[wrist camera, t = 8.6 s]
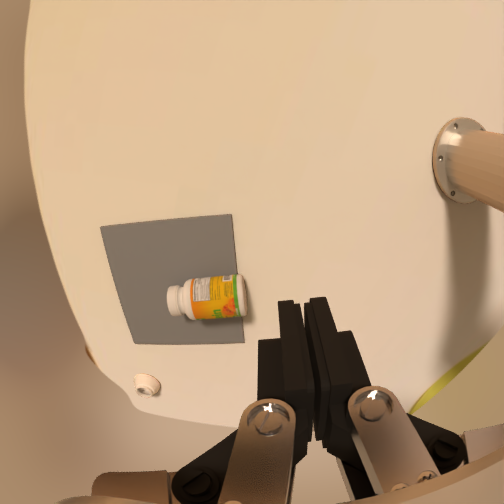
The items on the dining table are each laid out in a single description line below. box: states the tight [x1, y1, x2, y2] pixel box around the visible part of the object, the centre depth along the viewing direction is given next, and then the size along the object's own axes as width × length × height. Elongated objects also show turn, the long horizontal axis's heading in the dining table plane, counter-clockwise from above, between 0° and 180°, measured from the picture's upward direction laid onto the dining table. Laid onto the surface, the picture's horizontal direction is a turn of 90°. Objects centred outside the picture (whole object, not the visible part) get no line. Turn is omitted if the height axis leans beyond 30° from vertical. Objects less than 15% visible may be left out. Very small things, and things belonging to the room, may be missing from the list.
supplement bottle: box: [167, 274, 247, 320], centre depth 38 cm, size 5×5×10 cm
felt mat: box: [100, 214, 244, 344], centre depth 41 cm, size 18×20×1 cm
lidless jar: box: [134, 374, 160, 398], centre depth 48 cm, size 5×3×5 cm
